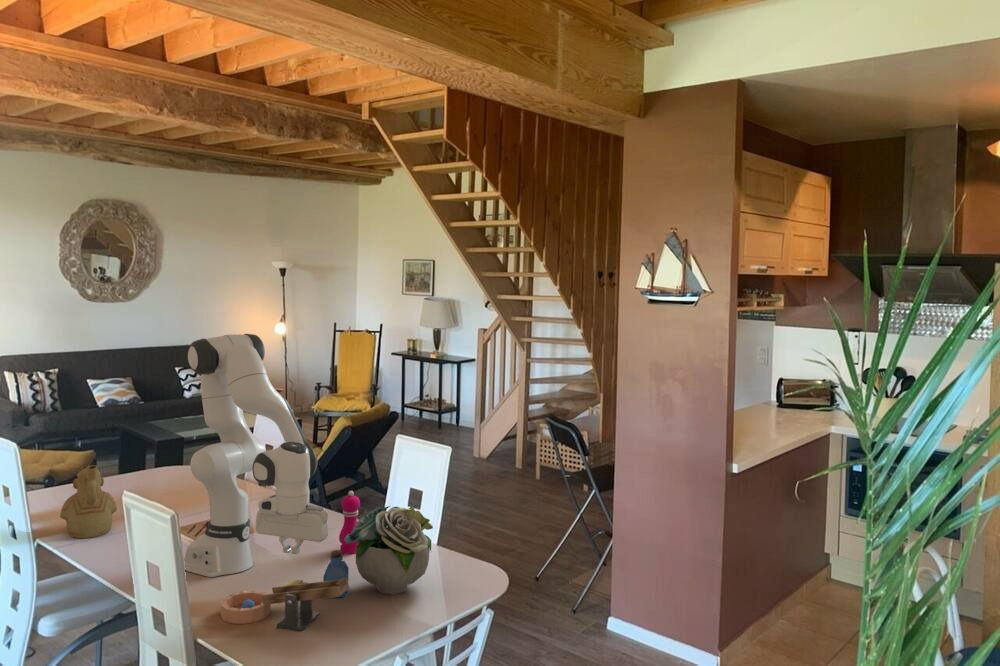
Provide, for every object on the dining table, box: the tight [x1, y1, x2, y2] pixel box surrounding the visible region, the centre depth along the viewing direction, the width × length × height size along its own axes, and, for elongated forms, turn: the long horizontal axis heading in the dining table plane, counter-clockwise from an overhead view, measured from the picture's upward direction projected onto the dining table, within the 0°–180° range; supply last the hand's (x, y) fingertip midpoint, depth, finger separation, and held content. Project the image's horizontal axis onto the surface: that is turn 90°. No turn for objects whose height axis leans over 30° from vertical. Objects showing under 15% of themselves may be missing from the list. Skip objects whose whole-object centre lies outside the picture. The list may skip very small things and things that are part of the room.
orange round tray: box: [220, 590, 272, 625], centre depth 197 cm, size 12×12×4 cm
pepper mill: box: [338, 490, 361, 555], centre depth 244 cm, size 7×7×20 cm
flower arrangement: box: [344, 506, 434, 595], centre depth 215 cm, size 25×25×24 cm
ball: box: [242, 600, 255, 608], centre depth 197 cm, size 3×3×3 cm
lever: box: [262, 577, 350, 605], centre depth 196 cm, size 22×14×3 cm, turn 76°
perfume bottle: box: [322, 549, 349, 598], centre depth 211 cm, size 6×6×12 cm
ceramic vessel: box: [59, 464, 118, 539], centre depth 254 cm, size 17×20×25 cm
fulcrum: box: [276, 581, 321, 633], centre depth 193 cm, size 7×10×9 cm
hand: (291, 552), depth 202 cm, fingers closed
